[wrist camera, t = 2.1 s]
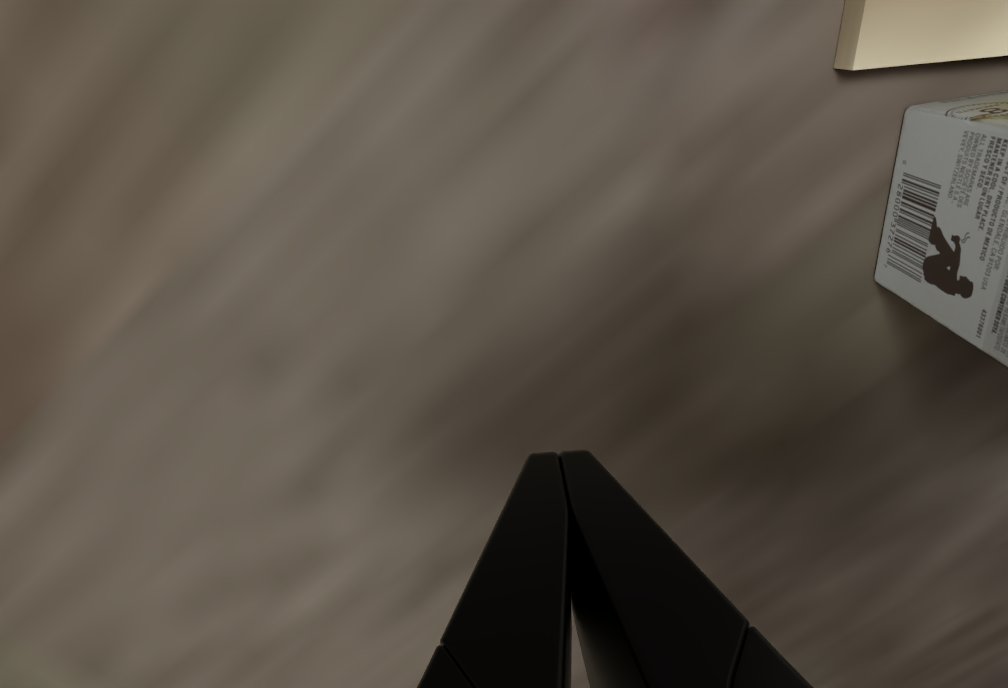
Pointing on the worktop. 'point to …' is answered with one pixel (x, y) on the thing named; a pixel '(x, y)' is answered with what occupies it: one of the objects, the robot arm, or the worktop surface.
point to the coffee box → (952, 218)
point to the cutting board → (920, 32)
